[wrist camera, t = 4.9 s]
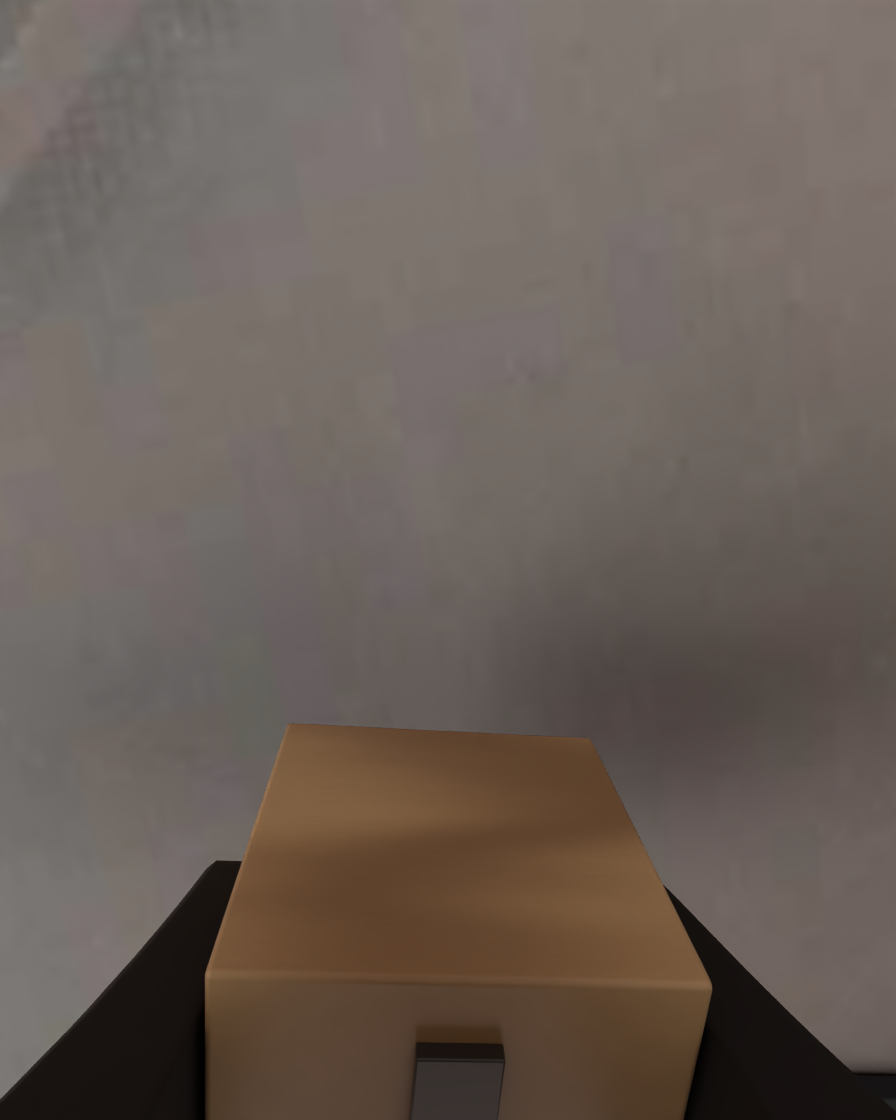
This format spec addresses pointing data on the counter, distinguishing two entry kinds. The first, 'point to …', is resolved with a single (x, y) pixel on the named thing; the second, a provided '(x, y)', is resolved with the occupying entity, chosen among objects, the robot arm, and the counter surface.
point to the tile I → (448, 940)
